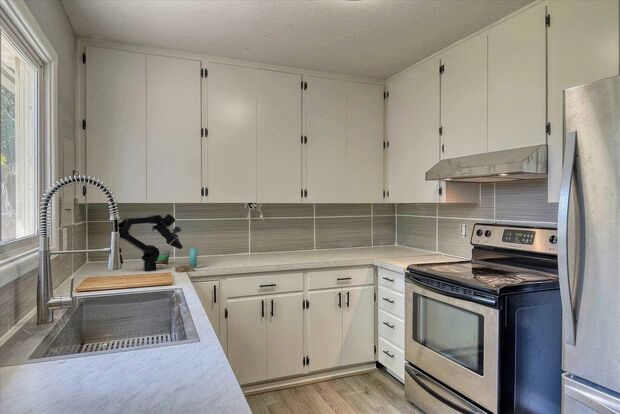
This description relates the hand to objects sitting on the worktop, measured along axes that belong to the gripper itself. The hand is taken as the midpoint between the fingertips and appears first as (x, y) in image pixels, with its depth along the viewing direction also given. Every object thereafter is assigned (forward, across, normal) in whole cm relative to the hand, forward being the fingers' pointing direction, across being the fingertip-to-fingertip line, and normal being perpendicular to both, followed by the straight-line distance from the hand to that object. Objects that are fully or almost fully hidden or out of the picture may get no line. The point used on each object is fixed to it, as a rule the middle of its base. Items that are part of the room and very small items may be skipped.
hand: (181, 248), depth 247 cm
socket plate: (+11, -10, +8) cm, 17 cm away
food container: (-1, +22, +20) cm, 30 cm away
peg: (+14, 0, +4) cm, 15 cm away
